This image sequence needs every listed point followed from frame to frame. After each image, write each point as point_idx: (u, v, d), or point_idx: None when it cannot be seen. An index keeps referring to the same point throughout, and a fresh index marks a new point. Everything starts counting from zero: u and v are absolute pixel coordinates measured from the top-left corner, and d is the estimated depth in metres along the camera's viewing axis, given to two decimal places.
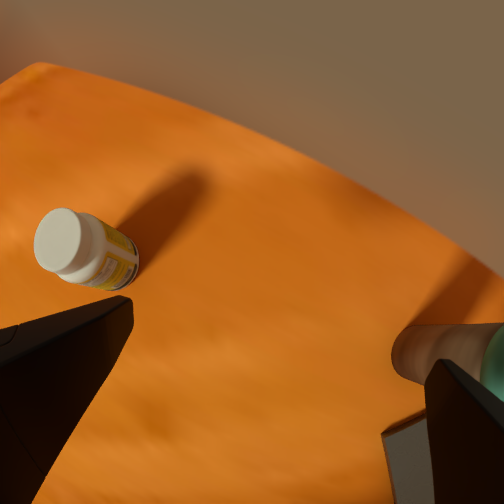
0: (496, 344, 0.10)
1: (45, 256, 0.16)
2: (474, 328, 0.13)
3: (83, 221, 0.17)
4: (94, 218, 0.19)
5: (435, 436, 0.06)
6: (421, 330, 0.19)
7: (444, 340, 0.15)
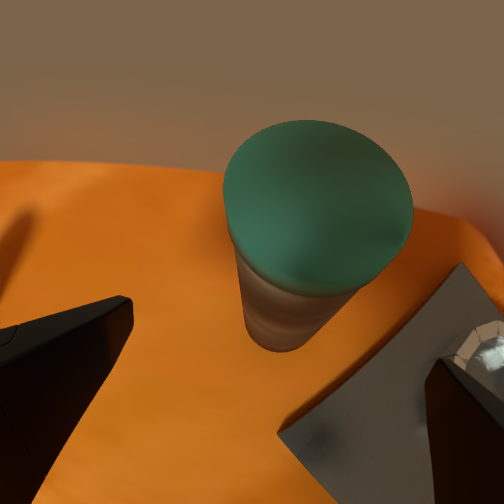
0: None
1: None
2: None
3: None
4: None
5: (435, 436, 0.06)
6: None
7: None
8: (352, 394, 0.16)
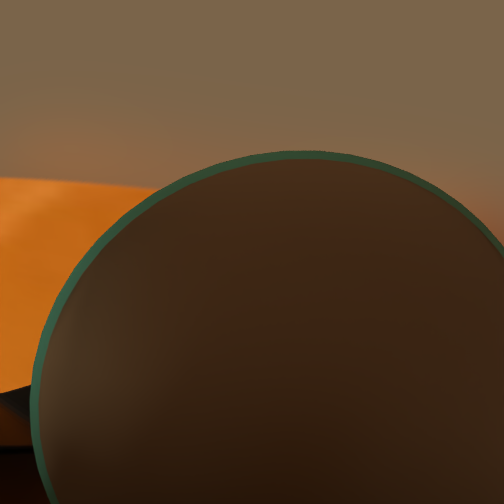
0: None
1: None
2: None
3: None
4: None
5: None
6: None
7: None
8: None
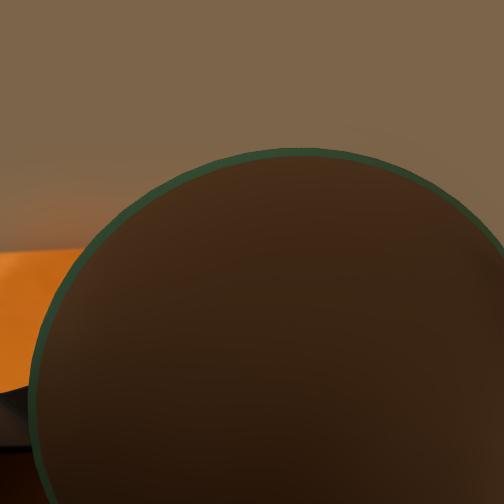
0: None
1: None
2: None
3: None
4: None
5: None
6: None
7: None
8: None
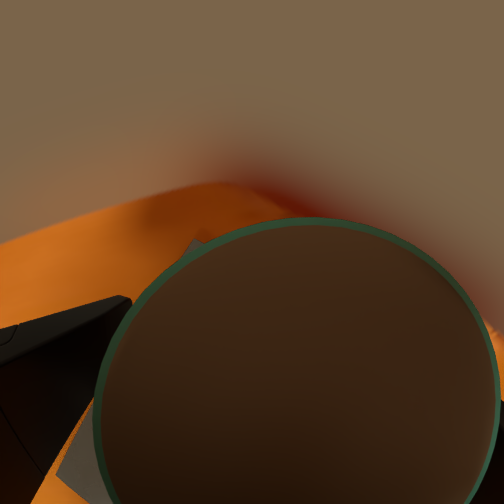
0: None
1: None
2: None
3: None
4: None
5: None
6: None
7: None
8: None
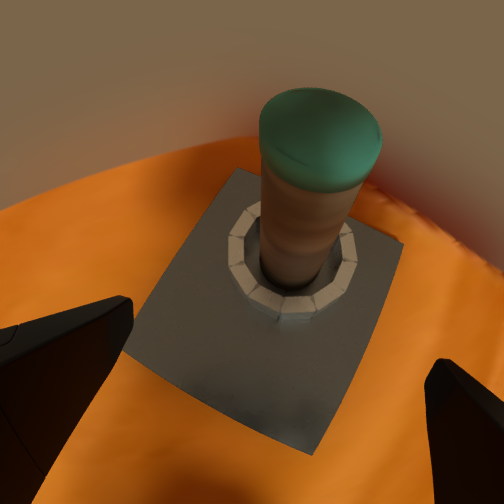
0: None
1: None
2: None
3: None
4: None
5: (435, 436, 0.06)
6: None
7: None
8: (160, 298, 0.22)
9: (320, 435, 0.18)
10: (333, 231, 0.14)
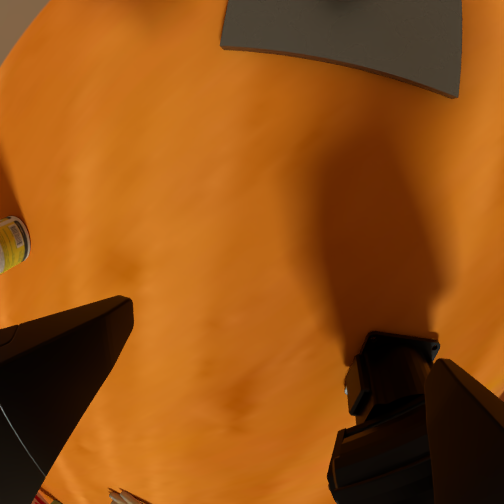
0: None
1: None
2: None
3: None
4: None
5: (435, 436, 0.06)
6: None
7: None
8: None
9: (457, 75, 0.14)
10: None
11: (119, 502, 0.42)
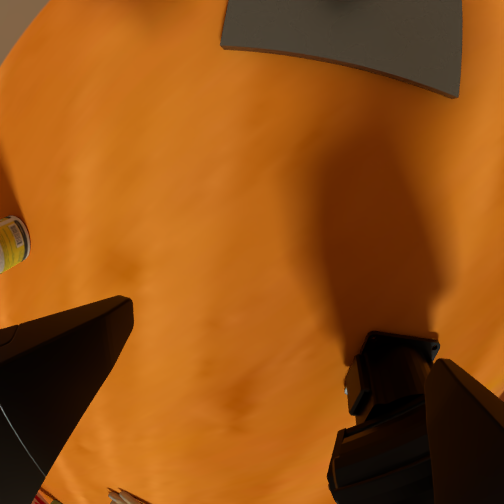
0: None
1: None
2: None
3: None
4: None
5: (435, 436, 0.06)
6: None
7: None
8: None
9: (457, 75, 0.14)
10: None
11: (118, 502, 0.42)
